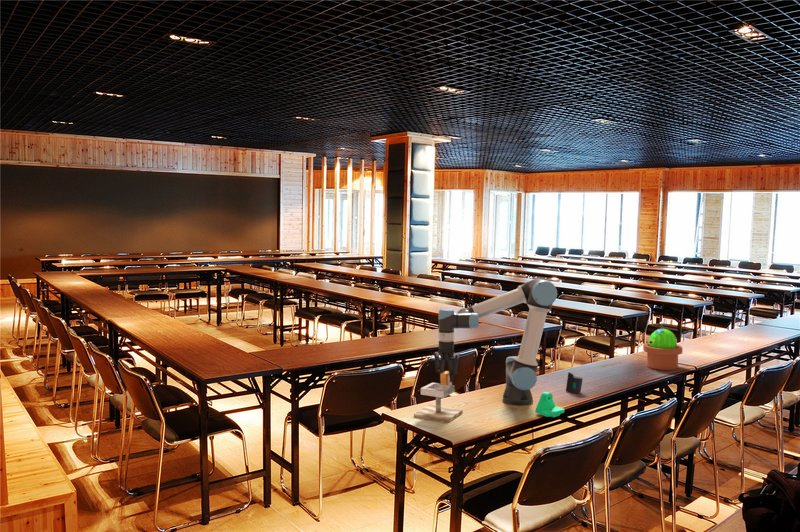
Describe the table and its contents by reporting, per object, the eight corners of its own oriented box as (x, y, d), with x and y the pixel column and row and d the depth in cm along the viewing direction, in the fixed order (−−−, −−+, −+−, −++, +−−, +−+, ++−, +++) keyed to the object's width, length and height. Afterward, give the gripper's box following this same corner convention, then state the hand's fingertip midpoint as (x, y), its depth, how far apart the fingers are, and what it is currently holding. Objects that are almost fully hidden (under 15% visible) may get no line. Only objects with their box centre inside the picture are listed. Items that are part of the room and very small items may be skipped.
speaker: (566, 393, 312) (568, 374, 312) (565, 390, 318) (567, 372, 318) (581, 395, 311) (583, 376, 311) (580, 392, 317) (582, 373, 316)
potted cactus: (669, 362, 380) (670, 324, 378) (688, 370, 358) (689, 330, 357) (637, 363, 378) (637, 325, 377) (654, 371, 357) (654, 331, 355)
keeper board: (429, 407, 291) (429, 384, 290) (462, 413, 282) (462, 388, 281) (413, 416, 277) (413, 392, 277) (448, 422, 268) (448, 397, 268)
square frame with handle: (443, 397, 271) (443, 380, 270) (420, 394, 277) (420, 377, 276) (459, 388, 286) (459, 372, 286) (437, 385, 292) (437, 369, 292)
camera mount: (547, 419, 272) (547, 397, 271) (535, 414, 279) (535, 393, 278) (565, 414, 278) (565, 393, 278) (553, 410, 285) (553, 389, 284)
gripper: (428, 340, 287) (428, 387, 288) (458, 343, 279) (458, 391, 280) (435, 337, 293) (435, 384, 295) (464, 340, 285) (464, 388, 287)
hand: (446, 387), depth 287 cm, fingers closed on square frame with handle, 3 cm apart
